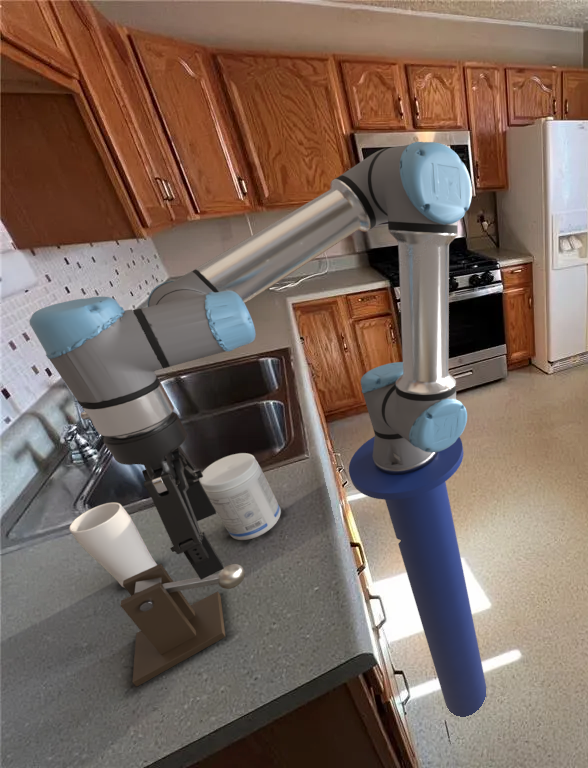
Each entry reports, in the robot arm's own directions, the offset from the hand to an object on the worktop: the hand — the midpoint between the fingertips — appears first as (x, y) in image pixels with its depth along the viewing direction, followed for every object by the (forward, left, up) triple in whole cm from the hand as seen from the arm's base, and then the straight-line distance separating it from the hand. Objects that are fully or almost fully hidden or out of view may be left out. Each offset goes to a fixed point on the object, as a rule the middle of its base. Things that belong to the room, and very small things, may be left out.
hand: (209, 542), depth 62 cm
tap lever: (+5, 0, -7) cm, 9 cm away
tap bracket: (+9, 0, -15) cm, 17 cm away
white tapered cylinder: (+15, -19, -15) cm, 28 cm away
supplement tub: (-4, -19, -15) cm, 24 cm away
